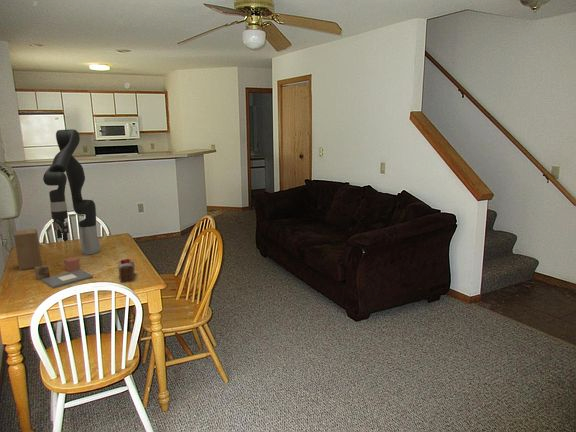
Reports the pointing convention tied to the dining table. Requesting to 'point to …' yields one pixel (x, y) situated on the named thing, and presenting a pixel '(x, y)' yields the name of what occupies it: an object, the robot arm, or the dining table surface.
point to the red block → (71, 264)
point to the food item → (126, 270)
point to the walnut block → (42, 272)
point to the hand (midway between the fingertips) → (62, 239)
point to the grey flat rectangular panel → (67, 278)
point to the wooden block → (27, 249)
